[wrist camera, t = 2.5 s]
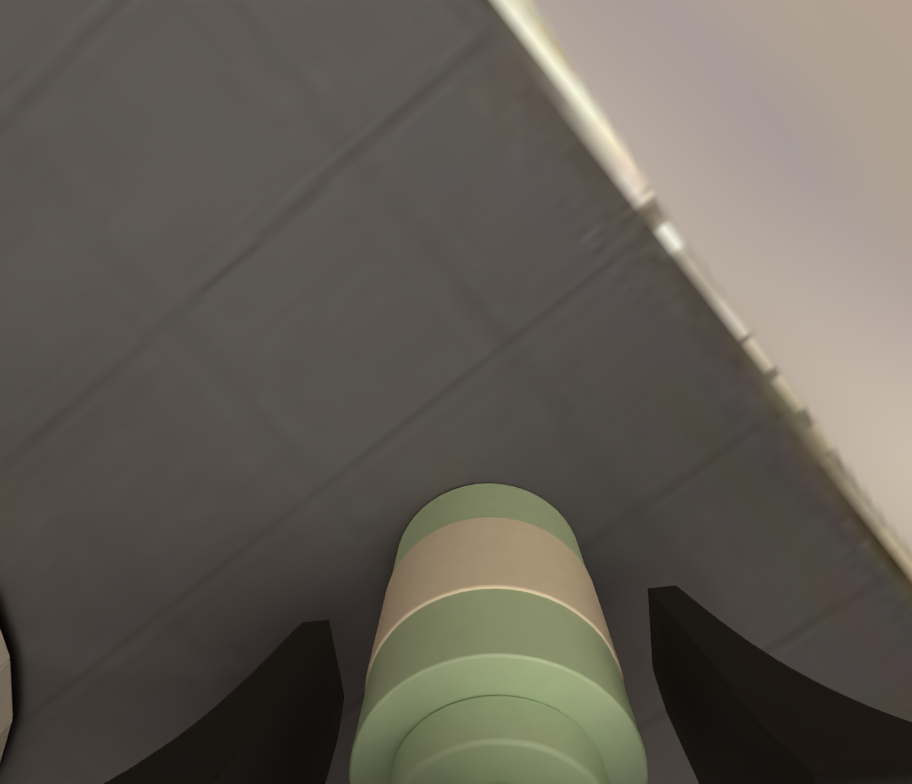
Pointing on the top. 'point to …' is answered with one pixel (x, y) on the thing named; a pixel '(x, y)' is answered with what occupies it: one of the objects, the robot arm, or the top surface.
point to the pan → (5, 694)
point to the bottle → (493, 655)
